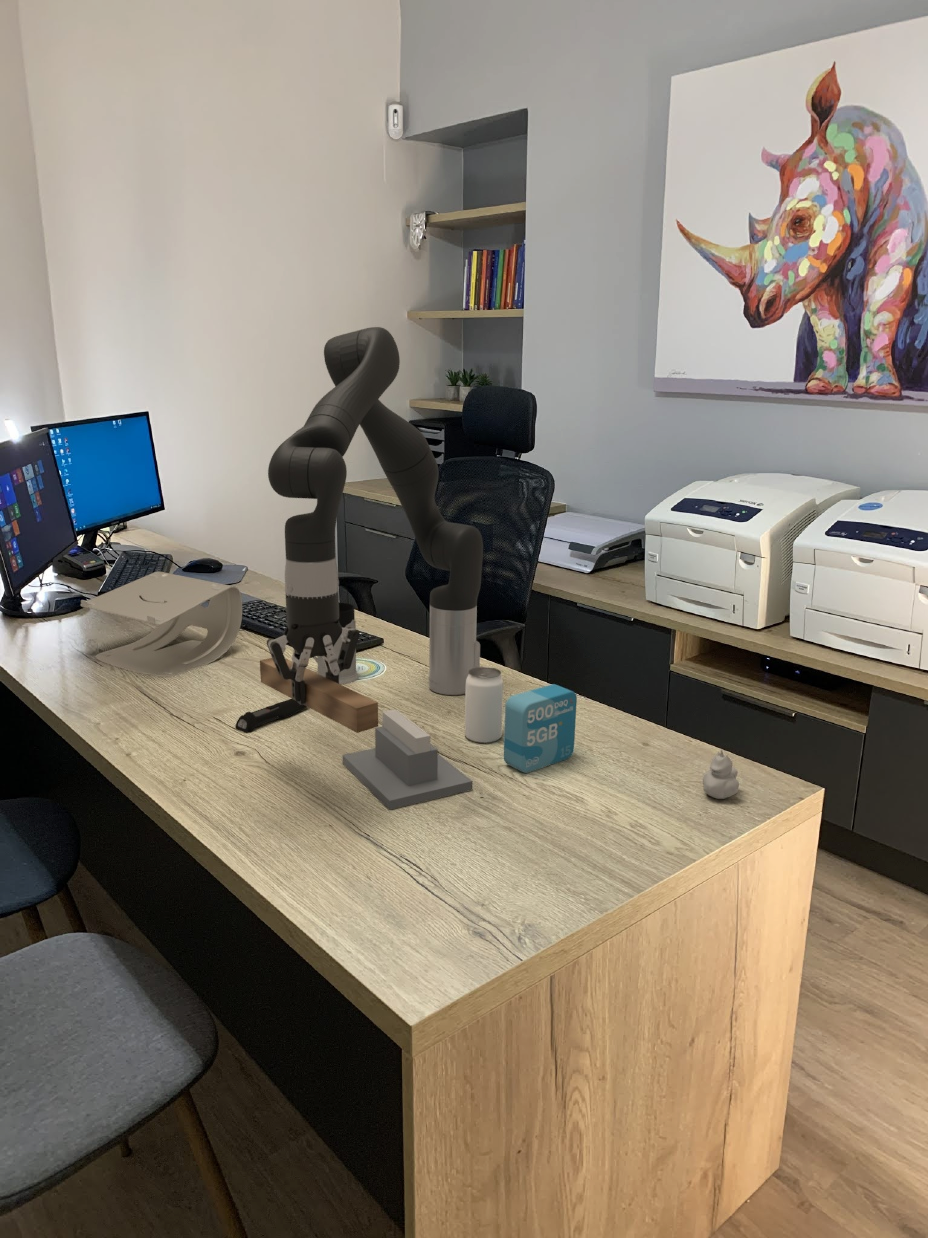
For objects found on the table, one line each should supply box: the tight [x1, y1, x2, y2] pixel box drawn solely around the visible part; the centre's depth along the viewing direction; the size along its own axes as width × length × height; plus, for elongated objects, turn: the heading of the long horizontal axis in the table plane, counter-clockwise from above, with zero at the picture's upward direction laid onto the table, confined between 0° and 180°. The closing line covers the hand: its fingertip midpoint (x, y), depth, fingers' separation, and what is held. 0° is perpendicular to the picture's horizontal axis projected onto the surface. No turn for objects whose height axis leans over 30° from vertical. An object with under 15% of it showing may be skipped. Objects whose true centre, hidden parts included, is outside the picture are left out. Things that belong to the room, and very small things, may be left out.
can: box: [464, 666, 504, 744], centre depth 160 cm, size 6×6×12 cm
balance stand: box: [341, 709, 473, 811], centre depth 144 cm, size 14×18×9 cm
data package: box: [503, 683, 578, 774], centre depth 150 cm, size 12×4×12 cm, turn 129°
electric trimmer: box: [235, 698, 308, 733], centre depth 167 cm, size 4×16×3 cm, turn 141°
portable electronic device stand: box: [80, 571, 243, 678], centre depth 199 cm, size 26×24×16 cm
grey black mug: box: [312, 602, 359, 686], centre depth 188 cm, size 9×14×15 cm, turn 71°
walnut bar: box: [259, 657, 379, 734], centre depth 136 cm, size 26×4×4 cm, turn 42°
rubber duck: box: [702, 749, 740, 800], centre depth 140 cm, size 5×7×8 cm
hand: (315, 699), depth 136 cm, fingers closed on walnut bar, 4 cm apart
